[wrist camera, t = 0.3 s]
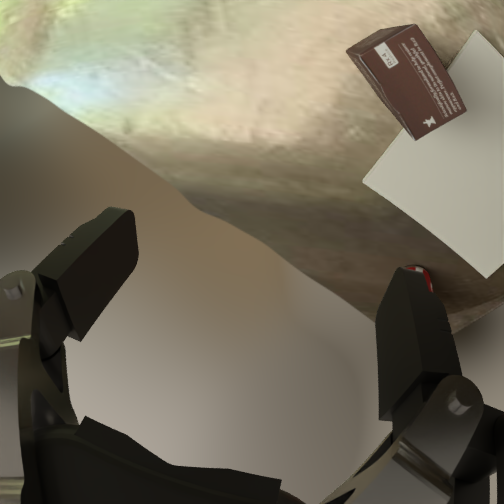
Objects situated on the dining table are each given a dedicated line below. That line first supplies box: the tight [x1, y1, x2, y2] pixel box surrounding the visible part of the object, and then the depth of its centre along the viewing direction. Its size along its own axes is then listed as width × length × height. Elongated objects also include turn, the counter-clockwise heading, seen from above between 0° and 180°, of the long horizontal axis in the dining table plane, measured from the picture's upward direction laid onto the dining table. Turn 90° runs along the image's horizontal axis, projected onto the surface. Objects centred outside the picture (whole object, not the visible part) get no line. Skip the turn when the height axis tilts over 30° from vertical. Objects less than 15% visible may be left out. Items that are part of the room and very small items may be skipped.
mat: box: [363, 30, 504, 279], centre depth 25 cm, size 20×22×1 cm
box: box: [346, 24, 467, 141], centre depth 18 cm, size 6×4×12 cm
